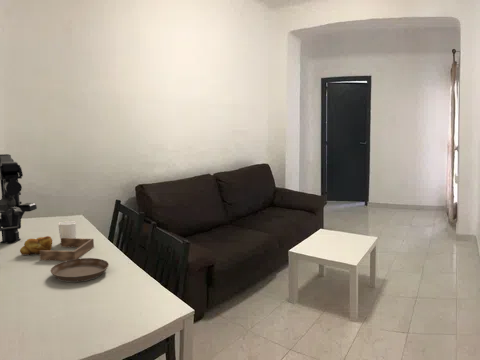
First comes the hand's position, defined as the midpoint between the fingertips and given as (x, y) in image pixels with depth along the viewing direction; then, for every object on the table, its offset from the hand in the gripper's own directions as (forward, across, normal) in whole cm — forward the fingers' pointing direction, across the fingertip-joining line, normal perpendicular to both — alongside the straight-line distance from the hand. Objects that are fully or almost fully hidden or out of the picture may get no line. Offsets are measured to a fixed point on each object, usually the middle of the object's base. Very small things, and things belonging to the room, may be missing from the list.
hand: (13, 225), depth 172 cm
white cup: (+12, +17, +15) cm, 26 cm away
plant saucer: (+12, +40, -23) cm, 48 cm away
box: (+12, +24, 0) cm, 27 cm away
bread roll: (+12, +10, 0) cm, 16 cm away
